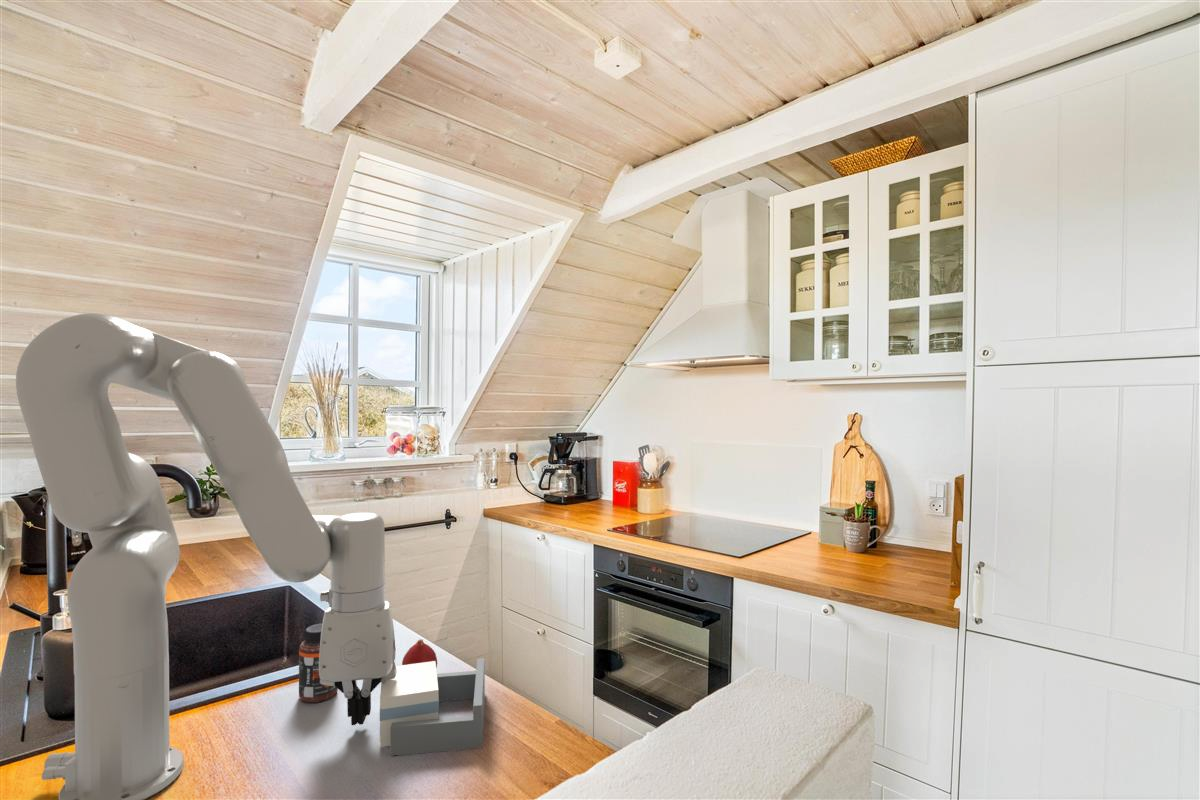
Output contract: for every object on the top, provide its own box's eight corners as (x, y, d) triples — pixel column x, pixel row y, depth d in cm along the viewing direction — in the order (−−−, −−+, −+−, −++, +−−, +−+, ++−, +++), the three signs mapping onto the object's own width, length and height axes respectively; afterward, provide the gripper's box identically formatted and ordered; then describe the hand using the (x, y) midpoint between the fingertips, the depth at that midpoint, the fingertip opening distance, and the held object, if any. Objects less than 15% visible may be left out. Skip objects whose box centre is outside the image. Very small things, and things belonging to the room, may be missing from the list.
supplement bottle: (312, 708, 96) (312, 637, 96) (291, 698, 99) (290, 629, 99) (346, 692, 101) (345, 625, 101) (324, 683, 104) (324, 618, 104)
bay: (390, 756, 83) (390, 712, 83) (407, 700, 98) (407, 663, 98) (482, 747, 85) (481, 705, 85) (484, 694, 100) (484, 658, 100)
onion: (396, 684, 104) (396, 638, 104) (427, 674, 108) (427, 629, 108) (411, 697, 99) (411, 648, 99) (443, 685, 103) (442, 639, 103)
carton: (379, 747, 85) (379, 698, 85) (382, 711, 95) (382, 667, 95) (438, 737, 88) (438, 690, 88) (435, 703, 97) (435, 660, 97)
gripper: (296, 609, 85) (297, 739, 85) (406, 603, 87) (407, 728, 87) (312, 592, 92) (313, 711, 92) (413, 586, 95) (414, 702, 95)
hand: (359, 719), depth 90 cm, fingers closed
